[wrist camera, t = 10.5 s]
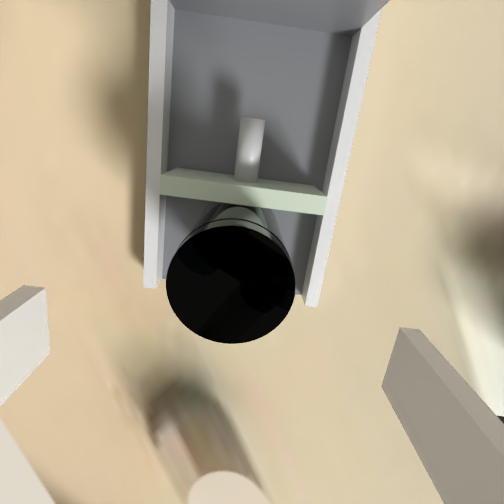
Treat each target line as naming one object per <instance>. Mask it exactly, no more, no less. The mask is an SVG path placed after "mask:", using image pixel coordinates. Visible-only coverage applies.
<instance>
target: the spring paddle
mask: <svg viewBox="0 0 504 504" xmlns="http://www.w3.org/2000/svg"><path fill="white" fill-rule="evenodd" d="M264 126H265V120H262V119H256V118H248V117H241V120H240V129H239V138H238V147H237V156H236V165H235V174H234V175H230V174H222V173H215V172H207V171H200V170H192V169H185V168H175V169H173V170H170V171H168V172H166V173H163V174H161V175H160V192H159V194H160V195H168V196H176V197H184V198H191V199H199V200H207V201H215V202H223V203H230V204H238V205H246V206H254V207H262V208H269V209H277V210H285V211H293V212H301V213H308V214H316V215H324V212H325V207H326V202H327V196H326V195H325V194H323V193H322V192H321V191H320V190H318V189H317V188H316V187H315V186H313V185H306V184H298V183H291V182H283V181H275V180H268V179H260V178H258V171H259V163H260V156H261V148H262V141H263V134H264Z"/></svg>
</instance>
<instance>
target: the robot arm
mask: <svg viewBox="0 0 504 504" xmlns="http://www.w3.org/2000/svg"><path fill="white" fill-rule="evenodd" d="M49 353H50V343H49V329H48V315H47V302H46V288H43V287H34V286H25V285H23V286H22V287H20V288H19V289H17V290H16V291H14V292H13V293H11V294H10V295H8V296H6V297H5V298H3V299H2V300H0V406H1V405H2V404H3V403H4V402H5V401H6V400H7V399H8V398H9V396H10V395H11V394H12V393H13V392H14V391H15V390H16V389H17V388H18V387H19V386H20V385H21V384H22V382H23V381H24V380H25V379H26V378H27V377H28V376H29V375H30V374H31V373H32V372H33V371H34V370H35V368H36V367H37V366H38V365H39V364H40V363H41V362H42V361H43V360H44V359H45V358H46V357H47V356H48V354H49ZM382 388H383V390H384V392H385V394H386V396H387V398H388V400H389V401H390V403H391V405H392V407H393V409H394V411H395V413H396V414H397V416H398V418H399V420H400V422H401V424H402V426H403V428H404V429H405V431H406V433H407V435H408V437H409V439H410V441H411V442H412V444H413V446H414V448H415V450H416V452H417V454H418V456H419V457H420V459H421V461H422V463H423V465H424V467H425V469H426V470H427V472H428V474H429V476H430V478H431V480H432V482H433V484H434V485H435V487H436V489H437V491H438V493H439V495H440V497H441V499H442V500H443V502H444V504H504V417H503V416H496V415H495V414H494V412H493V411H492V410H491V409H490V408H489V407H488V406H487V405H486V403H485V402H484V401H483V400H482V399H481V398H480V397H479V396H478V395H477V393H476V392H475V391H474V390H473V389H472V388H471V387H470V386H469V384H468V383H467V382H466V381H465V380H464V379H463V378H462V377H461V376H460V374H459V373H458V372H457V371H456V370H455V369H454V368H453V367H452V365H451V364H450V363H449V362H448V361H447V360H446V359H445V358H444V356H443V355H442V354H441V353H440V352H439V351H438V350H437V349H436V348H435V346H434V345H433V344H432V343H431V342H430V341H429V340H428V339H427V337H426V336H425V335H424V334H423V333H422V332H421V331H420V330H419V329H410V328H401V327H400V328H399V332H398V335H397V338H396V341H395V345H394V348H393V351H392V354H391V358H390V361H389V364H388V367H387V371H386V374H385V377H384V380H383V383H382Z"/></svg>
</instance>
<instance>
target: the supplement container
mask: <svg viewBox="0 0 504 504" xmlns="http://www.w3.org/2000/svg"><path fill="white" fill-rule="evenodd" d="M295 287H296V284H295V275H294V271H293V268H292V263H291V260H290V256H289V254H288V251H287V250H286V247H285V244H284V241H283V238H282V234H281V231H280V228H279V225H278V222H277V219H276V217H275V215H274V213H273V212H272V210H271V209H269V208H262V207H254V206H246V205H238V204H230V203H223V202H215V201H212V202H211V203H210V204H209V205H208V206H207V207H206V208H205V209H204V210H203V212H202V213H201V215H200V216H199V218H198V219H197V221H196V223H195V224H194V226H193V227H192V229H191V230H190V232H189V234H188V235H187V236H186V237H185V239H184V240H183V241H182V242H181V244H180V246H179V247H178V249H177V251H176V253H175V255H174V256H173V258H172V260H171V262H170V264H169V267H168V271H167V276H166V290H167V296H168V300H169V302H170V305H171V307H172V309H173V311H174V313H175V314H176V316H177V317H178V318H179V320H180V321H181V322H182V323H183V324H184V325H185V326H186V327H187V328H189V329H190V330H191V331H193V332H194V333H196V334H197V335H199V336H201V337H203V338H206V339H208V340H211V341H215V342H220V343H229V344H233V343H244V342H249V341H252V340H255V339H258V338H260V337H262V336H264V335H266V334H268V333H269V332H271V331H272V330H274V329H275V328H276V327H277V326H278V325H279V324H280V323H281V322H282V321H283V320H284V318H285V317H286V316H287V314H288V312H289V310H290V308H291V306H292V304H293V300H294V296H295Z"/></svg>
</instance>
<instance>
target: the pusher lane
mask: <svg viewBox="0 0 504 504" xmlns="http://www.w3.org/2000/svg"><path fill="white" fill-rule="evenodd" d="M388 1H389V0H151V12H150V50H149V88H148V126H147V163H146V201H145V239H144V277H143V287H146V288H155V289H156V288H157V286H158V285H159V283H160V281H161V280H162V279H166V276H167V271H168V267H169V264H170V262H171V260H172V258H173V256H174V255H175V253H176V251H177V249H178V247H179V246H180V244H181V242H182V241H183V240H184V239H185V237H186V236H187V235H188V234H189V232H190V230H191V229H192V227H193V226H194V224H195V223H196V221H197V219H198V218H199V216H200V215H201V213H202V212H203V210H204V209H205V208H206V207H207V206H208V205H209V204H210V203H211V202H212V201H207V200H199V199H191V198H184V197H176V196H168V195H160V194H159V192H160V175H161V174H163V173H166V172H168V171H170V170H173V169H175V168H185V169H192V170H200V171H207V172H215V173H222V174H230V175H234V174H235V165H236V156H237V147H238V138H239V129H240V120H241V117H248V118H256V119H262V120H265V126H264V134H263V141H262V148H261V156H260V163H259V171H258V178H260V179H268V180H275V181H283V182H291V183H298V184H306V185H313V186H315V187H316V188H317V189H318V190H320V191H321V192H322V193H323V194H325V195H326V196H327V202H326V207H325V212H324V215H316V214H308V213H301V212H293V211H285V210H277V209H271V210H272V212H273V213H274V215H275V217H276V219H277V222H278V225H279V228H280V231H281V234H282V238H283V241H284V244H285V247H286V250H287V251H288V254H289V256H290V260H291V263H292V268H293V271H294V275H295V284H296V287H295V294H299V295H302V298H303V301H304V304H305V306H311V307H317V306H318V301H319V296H320V292H321V287H322V283H323V278H324V273H325V269H326V264H327V260H328V255H329V250H330V246H331V241H332V237H333V232H334V227H335V223H336V218H337V214H338V209H339V204H340V200H341V195H342V191H343V186H344V182H345V177H346V172H347V168H348V163H349V159H350V154H351V149H352V145H353V140H354V136H355V131H356V126H357V122H358V117H359V113H360V108H361V103H362V99H363V94H364V90H365V85H366V80H367V76H368V71H369V67H370V62H371V57H372V53H373V48H374V44H375V39H376V34H377V30H378V25H379V21H380V16H381V11H382V7H383V6H384V5H385V4H386V3H387V2H388Z"/></svg>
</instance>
